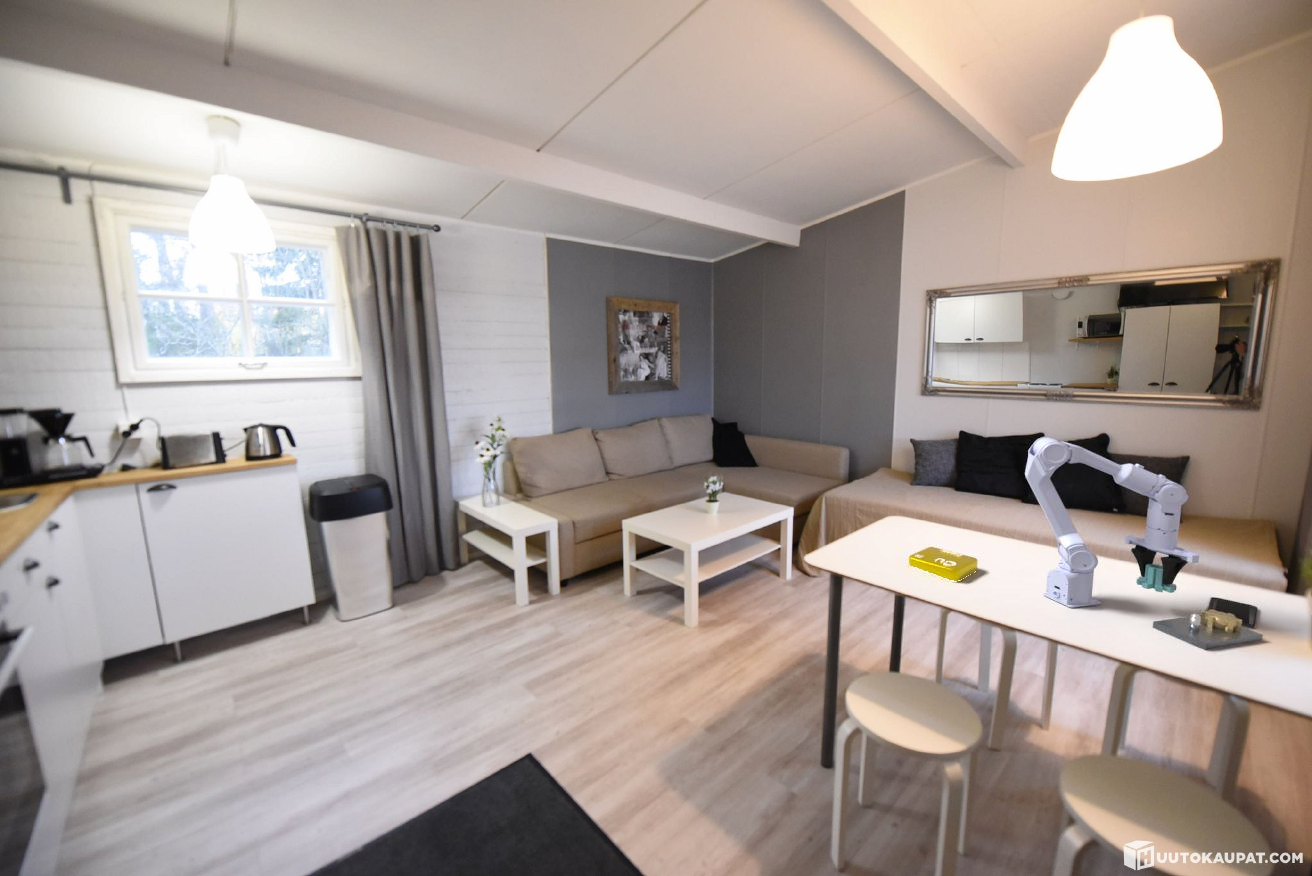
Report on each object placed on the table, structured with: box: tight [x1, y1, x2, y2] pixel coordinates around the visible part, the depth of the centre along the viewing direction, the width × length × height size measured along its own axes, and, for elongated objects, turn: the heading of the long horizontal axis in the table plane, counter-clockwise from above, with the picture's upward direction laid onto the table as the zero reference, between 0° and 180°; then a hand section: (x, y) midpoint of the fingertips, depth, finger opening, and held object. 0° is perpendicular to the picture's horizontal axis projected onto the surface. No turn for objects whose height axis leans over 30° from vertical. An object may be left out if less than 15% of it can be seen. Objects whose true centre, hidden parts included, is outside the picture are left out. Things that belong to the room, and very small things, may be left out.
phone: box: [1206, 596, 1258, 630], centre depth 124 cm, size 8×1×15 cm
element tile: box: [908, 546, 978, 581], centre depth 156 cm, size 15×15×5 cm
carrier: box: [1152, 609, 1264, 651], centre depth 115 cm, size 16×10×5 cm, turn 100°
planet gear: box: [1135, 563, 1177, 594], centre depth 126 cm, size 7×7×5 cm
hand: (1156, 580), depth 126 cm, fingers closed on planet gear, 4 cm apart
